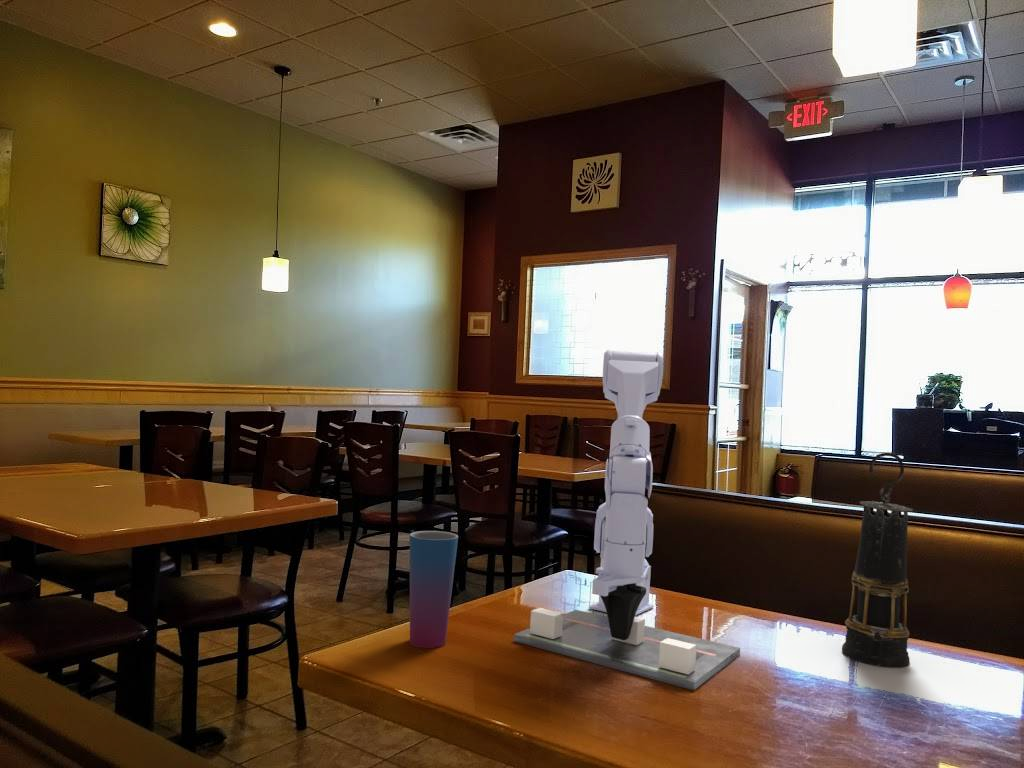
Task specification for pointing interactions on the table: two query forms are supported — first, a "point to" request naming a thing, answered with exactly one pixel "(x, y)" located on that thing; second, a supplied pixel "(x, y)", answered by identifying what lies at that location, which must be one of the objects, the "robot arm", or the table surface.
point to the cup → (431, 586)
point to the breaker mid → (635, 632)
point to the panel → (630, 649)
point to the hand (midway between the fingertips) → (619, 637)
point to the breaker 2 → (677, 656)
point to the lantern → (880, 583)
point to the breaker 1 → (546, 623)
